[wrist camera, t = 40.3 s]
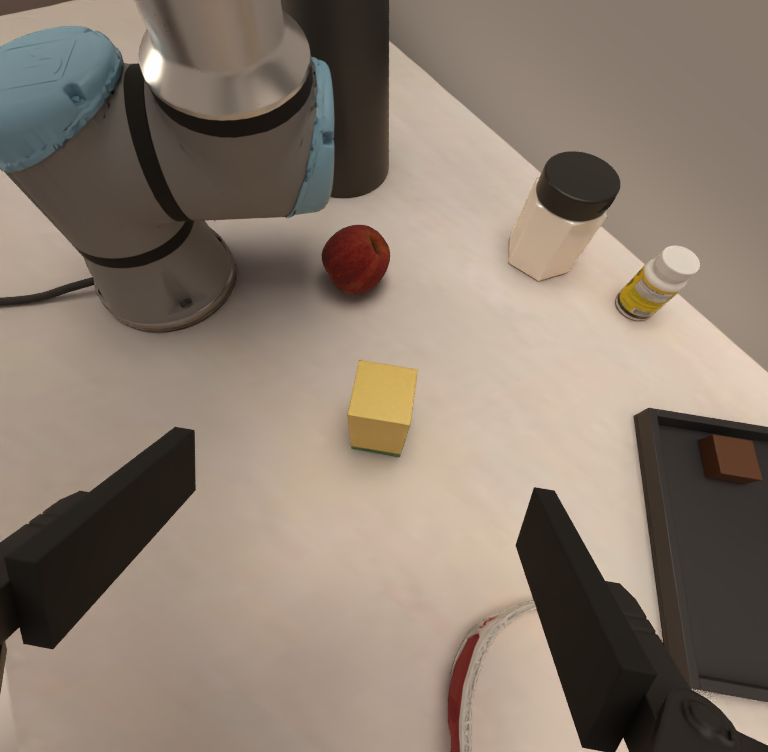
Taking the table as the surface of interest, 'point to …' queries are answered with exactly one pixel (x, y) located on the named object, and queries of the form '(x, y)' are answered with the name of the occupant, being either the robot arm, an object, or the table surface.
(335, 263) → the apple
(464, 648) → the sunglasses
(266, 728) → the table surface
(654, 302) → the supplement bottle
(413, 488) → the table surface
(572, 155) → the jar
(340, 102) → the vase
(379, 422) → the sponge
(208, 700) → the table surface
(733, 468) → the brown square block
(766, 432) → the pan
